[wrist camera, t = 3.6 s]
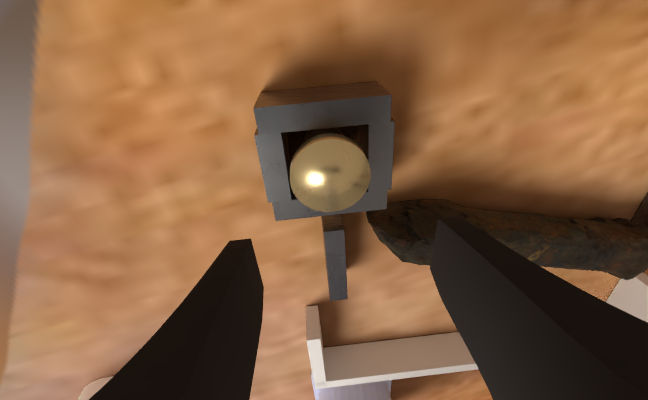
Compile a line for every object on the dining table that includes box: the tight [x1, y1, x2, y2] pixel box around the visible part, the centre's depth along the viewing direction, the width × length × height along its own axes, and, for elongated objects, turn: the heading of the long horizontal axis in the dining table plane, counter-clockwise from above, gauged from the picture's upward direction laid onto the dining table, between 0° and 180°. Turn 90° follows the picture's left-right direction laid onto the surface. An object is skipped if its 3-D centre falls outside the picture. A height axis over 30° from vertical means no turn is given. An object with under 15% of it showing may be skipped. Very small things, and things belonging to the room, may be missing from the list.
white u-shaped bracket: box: [306, 273, 648, 389], centre depth 25 cm, size 7×28×3 cm, turn 94°
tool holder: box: [254, 82, 648, 301], centre depth 18 cm, size 14×27×3 cm, turn 94°
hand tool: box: [366, 199, 648, 280], centre depth 19 cm, size 19×4×5 cm, turn 78°
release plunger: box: [290, 127, 371, 212], centre depth 15 cm, size 4×4×4 cm
